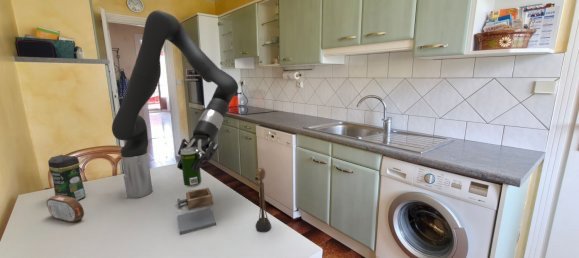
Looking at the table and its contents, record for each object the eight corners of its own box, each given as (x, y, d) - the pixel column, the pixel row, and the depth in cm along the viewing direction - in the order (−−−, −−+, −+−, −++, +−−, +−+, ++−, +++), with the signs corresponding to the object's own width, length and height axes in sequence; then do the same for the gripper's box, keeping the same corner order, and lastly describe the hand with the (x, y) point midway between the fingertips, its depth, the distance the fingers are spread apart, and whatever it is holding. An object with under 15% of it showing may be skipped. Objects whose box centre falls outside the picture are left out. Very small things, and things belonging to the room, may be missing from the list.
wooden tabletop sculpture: (266, 235, 79) (263, 172, 75) (252, 233, 80) (248, 171, 76) (272, 224, 84) (270, 165, 80) (259, 222, 86) (256, 164, 82)
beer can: (204, 184, 85) (200, 149, 82) (187, 189, 81) (183, 152, 79) (198, 179, 89) (194, 145, 86) (181, 184, 86) (177, 149, 83)
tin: (86, 220, 90) (82, 197, 88) (76, 225, 87) (71, 202, 86) (58, 214, 95) (53, 192, 93) (47, 218, 92) (42, 196, 90)
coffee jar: (52, 202, 104) (42, 157, 101) (73, 193, 112) (65, 152, 108) (68, 205, 101) (59, 159, 98) (89, 196, 109) (81, 153, 105)
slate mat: (180, 234, 80) (179, 231, 80) (177, 218, 90) (177, 215, 90) (216, 224, 85) (216, 222, 85) (210, 210, 95) (210, 207, 95)
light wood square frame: (179, 212, 94) (178, 203, 93) (177, 202, 102) (176, 193, 101) (213, 204, 99) (212, 195, 99) (209, 195, 107) (208, 187, 106)
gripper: (186, 118, 90) (162, 162, 82) (220, 120, 85) (197, 167, 77) (198, 130, 96) (177, 172, 88) (231, 132, 91) (211, 177, 82)
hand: (186, 169), depth 82 cm, fingers closed on beer can, 5 cm apart
